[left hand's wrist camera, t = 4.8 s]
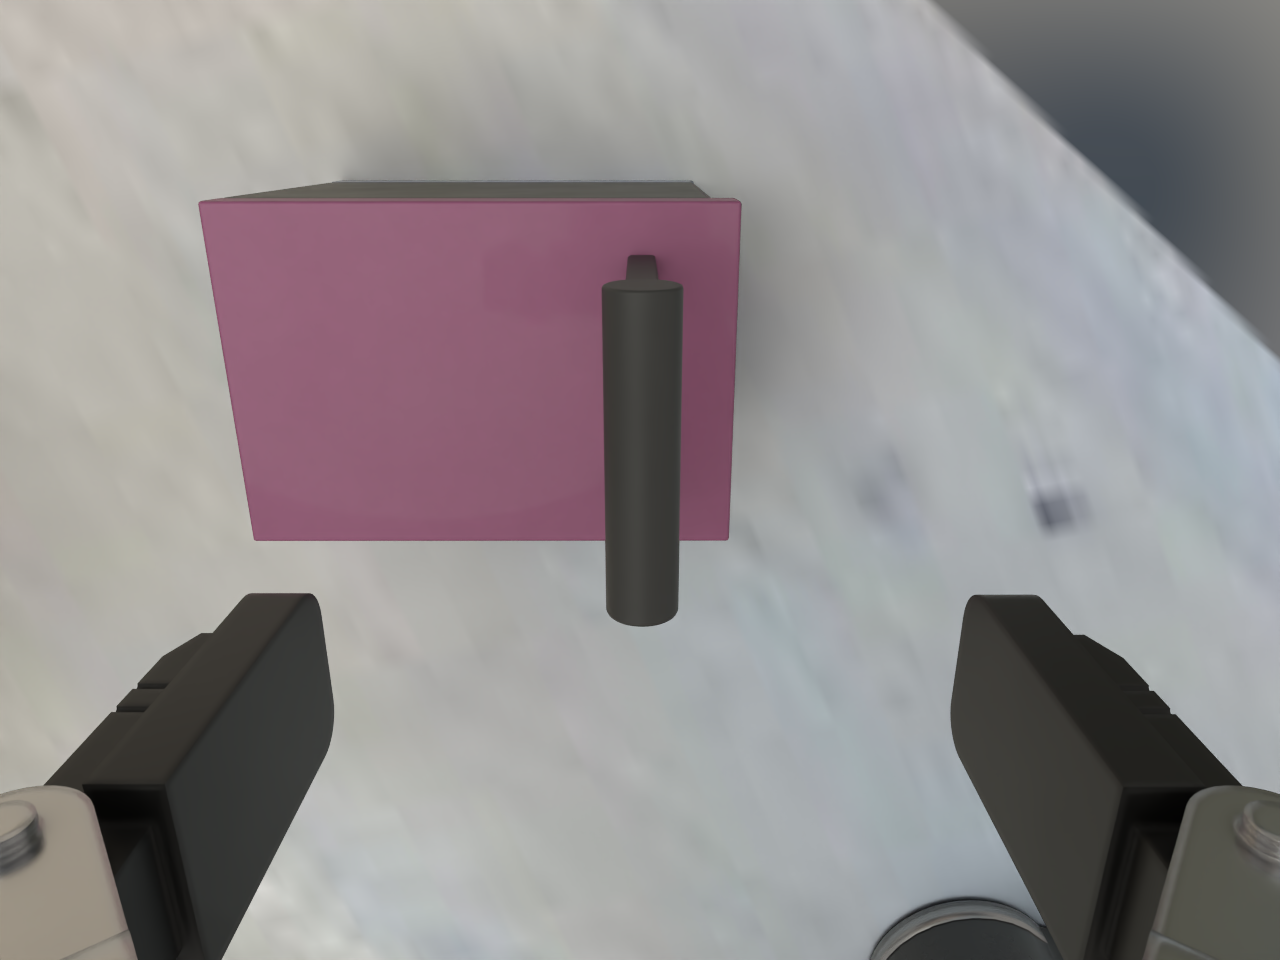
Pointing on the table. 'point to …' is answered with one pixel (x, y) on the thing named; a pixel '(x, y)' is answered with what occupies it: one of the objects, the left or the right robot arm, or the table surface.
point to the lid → (485, 372)
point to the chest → (490, 189)
